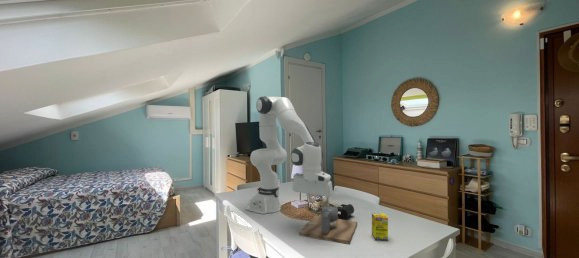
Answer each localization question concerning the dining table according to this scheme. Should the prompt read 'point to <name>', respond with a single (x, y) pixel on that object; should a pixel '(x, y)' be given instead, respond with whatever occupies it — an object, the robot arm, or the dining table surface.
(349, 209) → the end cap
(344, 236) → the mount plate
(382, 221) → the supplement box
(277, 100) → the robot arm
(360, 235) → the dining table surface
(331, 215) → the coupling
